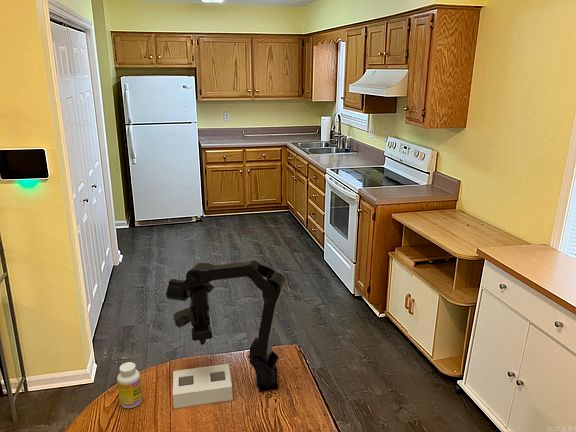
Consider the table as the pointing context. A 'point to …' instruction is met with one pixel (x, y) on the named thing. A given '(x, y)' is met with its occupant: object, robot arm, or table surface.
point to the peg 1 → (186, 380)
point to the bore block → (202, 386)
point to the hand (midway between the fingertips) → (202, 344)
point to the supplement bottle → (129, 385)
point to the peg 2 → (217, 376)
